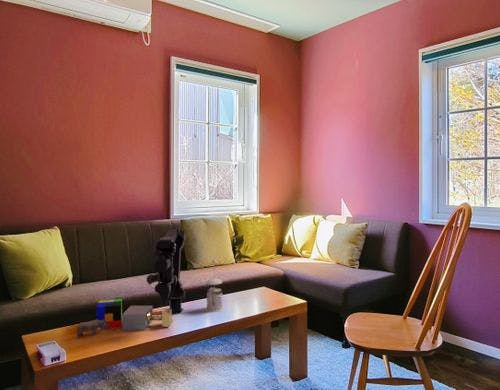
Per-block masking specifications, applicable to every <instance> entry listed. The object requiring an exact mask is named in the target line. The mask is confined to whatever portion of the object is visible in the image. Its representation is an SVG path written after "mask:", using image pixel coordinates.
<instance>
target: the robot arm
mask: <svg viewBox="0 0 500 390" xmlns="http://www.w3.org/2000/svg"><path fill="white" fill-rule="evenodd" d="M186 238H187V237H186V233H185V231H184V230H182V229H181V228H180V227H178V226H170V227H168V230H167V232H166V234H165V236H164V237H160V238H159V239H158V241H157V242H156V246H155V254H154V256H155V257H158V259H157V260H155V262H154V264H153V267H154V269H155V271H157V272H156V273H151V274H150V275H149V274H148V275H147V277H146V282H147V283H148V285H152V284H154V283H156V282H157V284H156V285H155V286H154V292H155V293H157V294H158V295H160V300H161V302H162V305H163V306H166V305H167V303H168V301H169V309H172V314H182V312H183V310H184V308H182V301H184V300H186V293H185V289H184V288H183V283H182V281H181V280H180V278H181V277H180V275H181V274H180V273H181V259H182V258H181V256H182V254H181V253H182V249H183V248H184V247H185V242H187V241H186V240H187V239H186Z"/></svg>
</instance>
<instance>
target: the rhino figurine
mask: <svg viewBox="0 0 500 390" xmlns="http://www.w3.org/2000/svg"><path fill="white" fill-rule="evenodd" d="M103 321H104V319H103V320H102V321H100V320H97V319H93V320H91V321H84V322H80V323H78V325H77V328H76V329H77V330H76V332H77V333H76V339H81V337H84V333H83V332H86V333H88V332H89V333H90V332H91V336H96V333H97V332H96V331H97V328H99V327H100V328H101V330H104V331H106V330H108V329H107V327H108V326H109V325H110V323H109V324H108V325H107V324H104V323H105V322H106V321H105V322H103Z"/></svg>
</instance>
